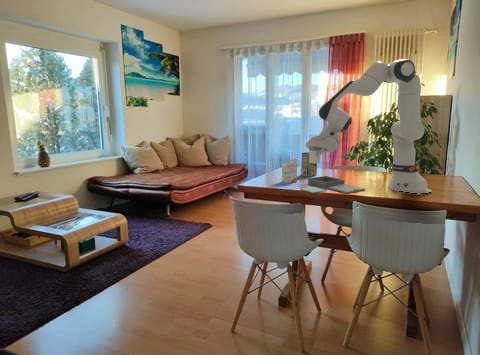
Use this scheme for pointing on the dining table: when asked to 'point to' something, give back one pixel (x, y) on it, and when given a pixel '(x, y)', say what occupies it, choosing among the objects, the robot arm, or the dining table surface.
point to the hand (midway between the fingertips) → (313, 155)
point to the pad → (313, 189)
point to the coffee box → (308, 166)
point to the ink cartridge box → (289, 171)
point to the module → (314, 155)
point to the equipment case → (333, 184)
